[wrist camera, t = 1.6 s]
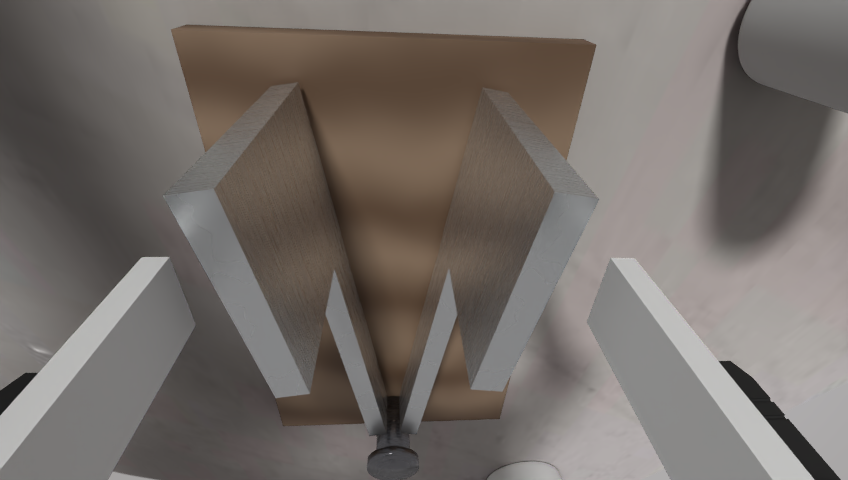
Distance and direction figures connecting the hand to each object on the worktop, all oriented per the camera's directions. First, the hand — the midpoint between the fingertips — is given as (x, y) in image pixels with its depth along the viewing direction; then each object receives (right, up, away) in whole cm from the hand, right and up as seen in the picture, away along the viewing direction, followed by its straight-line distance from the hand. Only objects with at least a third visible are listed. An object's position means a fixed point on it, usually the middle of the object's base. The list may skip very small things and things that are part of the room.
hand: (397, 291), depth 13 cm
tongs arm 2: (+2, -1, +12) cm, 12 cm away
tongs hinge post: (-2, -12, +20) cm, 23 cm away
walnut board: (-1, -1, +14) cm, 14 cm away
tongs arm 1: (-4, -1, +12) cm, 12 cm away
